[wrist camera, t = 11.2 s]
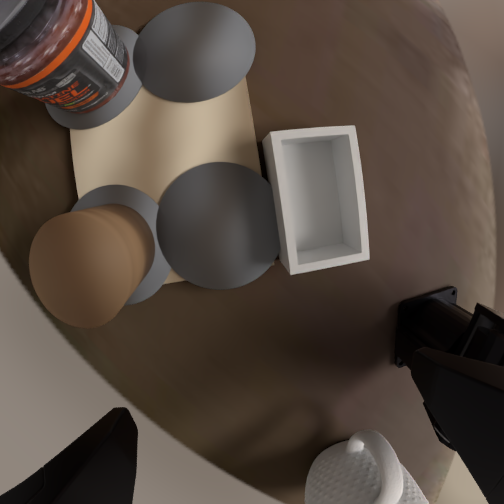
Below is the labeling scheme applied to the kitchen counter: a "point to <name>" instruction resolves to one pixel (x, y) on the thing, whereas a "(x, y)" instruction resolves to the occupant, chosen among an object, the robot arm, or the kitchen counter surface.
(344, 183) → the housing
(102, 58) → the supplement bottle
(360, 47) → the kitchen counter surface
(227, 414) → the kitchen counter surface
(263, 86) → the kitchen counter surface
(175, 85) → the board
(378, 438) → the mug
